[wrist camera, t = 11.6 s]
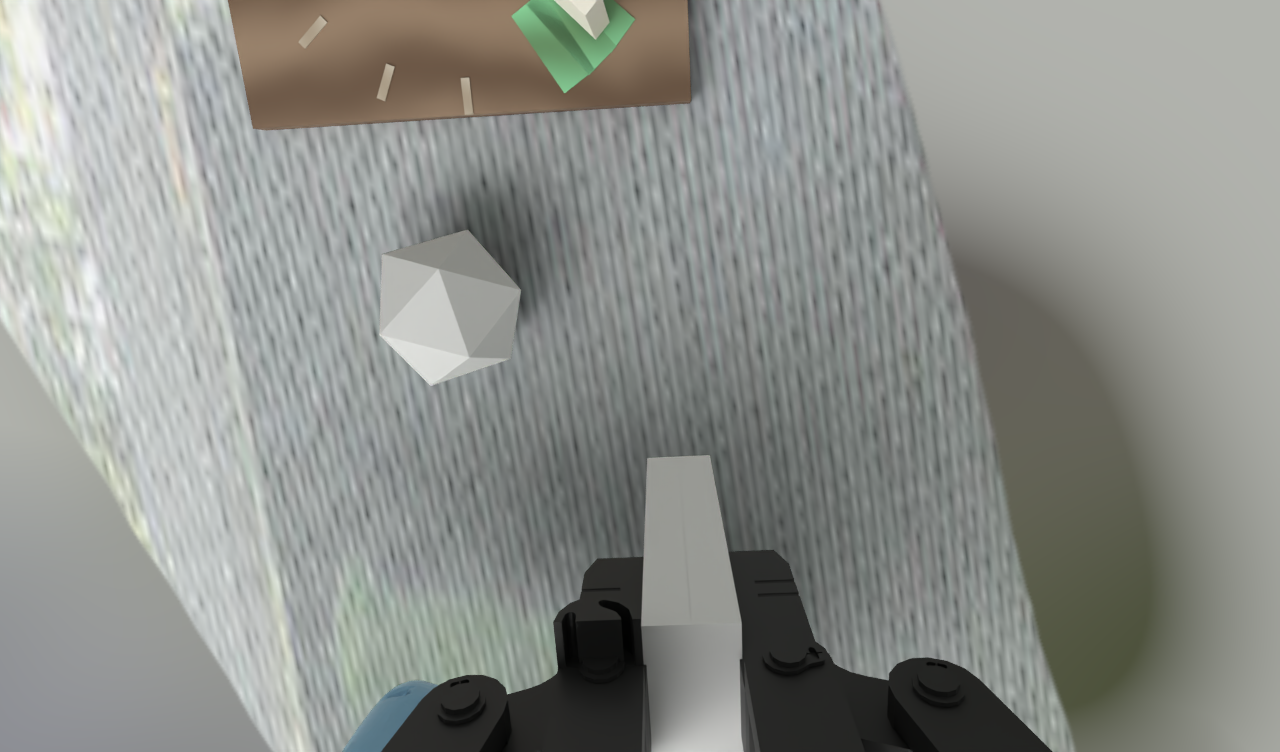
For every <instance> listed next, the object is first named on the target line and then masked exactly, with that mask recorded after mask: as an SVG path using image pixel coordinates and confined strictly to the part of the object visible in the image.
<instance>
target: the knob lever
mask: <svg viewBox="0 0 1280 752" xmlns="http://www.w3.org/2000/svg"><path fill="white" fill-rule="evenodd" d="M554 1H555V2H556V3H557V4H558V5H560V6H561V7H562V8H563V9H564V10H565V11H566V12H567V13H568V14H569V15H570V16H571V17H572V18H573V19H574V20H575V21H576V22H577V23H579V24H580V25H581V26H582V27H583V28H584V29H585V30H586V31H587V32H588V33H589V34H590V35H591V36H592V37H593V38H594V39H595V40H596V39H597V38H598V36H599V35H600V34H601V33H602V31H603V30H604V29H605V28H606V26H607V25H608V24H609V18H608V15H607V12H606V8H605V5H604V2H603V0H554Z"/></svg>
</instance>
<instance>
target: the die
mask: <svg viewBox="0 0 1280 752" xmlns="http://www.w3.org/2000/svg"><path fill="white" fill-rule="evenodd" d="M520 295H521V289H520V288H519V287H518V286H517V285H516V284H515V283H514V281H513V280H512V279H511V278H510V277H509V276H508V275H507V273H506V272H505V271H504V270H503V269H502V268H501V267H500V266H499V264H498V263H497V262H496V261H495V260H494V259H493V258H492V256H491V255H490V254H489V253H488V252H487V251H486V250H485V249H484V247H483V246H482V245H481V244H480V243H479V242H478V241H477V240H476V238H475V237H474V236H473V235H472V234H471V233H470V232H469V230H464V231H461V232H457V233H454V234H450V235H447V236H443V237H440V238H436V239H433V240H429V241H426V242H422V243H419V244H415V245H412V246H408V247H405V248H401V249H398V250H394V251H391V252H387V253H384V254H382V271H381V301H380V331H379V335H380V336H381V337H382V338H383V339H384V340H385V341H386V342H387V343H388V344H389V345H390V346H391V347H392V348H393V349H394V350H395V351H396V352H397V353H398V354H399V355H400V356H401V357H402V358H403V359H404V360H405V361H406V362H407V363H408V364H409V365H410V366H411V367H412V368H413V369H414V370H415V371H416V372H417V373H418V374H419V375H420V376H421V377H422V378H423V379H424V380H425V381H426V382H427V383H429V384H430V385H431V386H432V385H435V384H438V383H441V382H444V381H447V380H450V379H453V378H456V377H459V376H462V375H465V374H468V373H471V372H474V371H476V370H479V369H482V368H485V367H488V366H491V365H494V364H497V363H500V362H503V361H506V360H509V359H511V355H512V349H513V342H514V335H515V328H516V322H517V315H518V308H519V301H520Z"/></svg>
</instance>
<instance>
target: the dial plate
mask: <svg viewBox="0 0 1280 752" xmlns="http://www.w3.org/2000/svg"><path fill="white" fill-rule="evenodd" d="M603 2H604V5H605V8H606V12H607V15H608V18H609V24H608V25H607V26H606V28H605V29H604V30H603V31H602V33H601V34H600V35H599V36H598V38H597V39H596V40H595V39H594V38H593V37H592V36H591V35H590V34H589V33H588V32H587V31H586V30H585V29H584V28H583V27H582V26H581V25H580V24H579V23H577V22H576V21H575V20H574V19H573V18H572V17H571V16H570V15H569V14H568V13H567V12H566V11H565V10H564V9H563V8H562V7H561V6H560V5H558V4H557V3H556V2H555V1H554V0H228V3H229V8H230V13H231V18H232V23H233V28H234V33H235V39H236V44H237V49H238V54H239V59H240V64H241V69H242V74H243V79H244V85H245V90H246V95H247V100H248V105H249V110H250V115H251V120H252V126H253V129H261V130H279V129H295V128H310V127H326V126H342V125H357V124H373V123H389V122H404V121H420V120H435V119H451V118H467V117H482V116H498V115H514V114H529V113H545V112H561V111H576V110H592V109H608V108H623V107H639V106H655V105H670V104H686V103H690V102H691V85H690V56H689V28H688V0H603Z"/></svg>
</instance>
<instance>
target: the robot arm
mask: <svg viewBox="0 0 1280 752" xmlns="http://www.w3.org/2000/svg"><path fill="white" fill-rule="evenodd" d="M553 624H554V633H555V643H556V652H557V662H558V672H557V674H556V675H555V676H554V677H552V678H551V679H549V680H547V681H546V682H544V683H542V684H540V685H537V686H535V687H532V688H529V689H526V690H522V691H519V692H515V693H511V694H508V695H507V693H506V689H505V687H504V686H503V685H502V684H501V683H500V682H499V681H498V680H497V679H494V678H491V677H487V676H484V675H465V676H461V677H458V678H454V679H450V680H448V681H446V682H444V683H442V684H440V685H436V684H433V683H429V682H426V681H420V680H414V681H408V682H405V683H402V684H400V685H398V686H396V687H394V688H393V689H392V690H390V691H389V692H388V693H387V694H385V695H384V696H383V697H382V698H381V699H380V701H379V702H378V703H377V704H376V705H375V706H374V708H373V709H372V710H371V711H370V713H369V714H368V715H367V717H366V718H365V719H364V721H363V722H362V723H361V725H360V726H359V727H358V729H357V730H356V732H355V733H354V735H353V736H352V738H351V739H350V740H349V742H348V743H347V745H346V746H345V748H344V749H343V751H342V752H1052V751H1051V750H1050V749H1049V748H1048V747H1047V746H1046V745H1045V744H1044V743H1043V742H1042V741H1041V740H1040V739H1039V738H1038V737H1037V736H1036V735H1035V734H1034V733H1033V732H1032V731H1031V730H1030V729H1029V728H1028V727H1027V726H1026V725H1025V724H1024V723H1023V722H1022V721H1021V720H1020V719H1019V718H1018V717H1017V716H1016V715H1015V714H1014V713H1013V712H1012V711H1011V710H1010V709H1009V708H1008V707H1007V706H1006V705H1005V704H1004V703H1003V702H1002V701H1001V700H1000V699H999V698H998V697H997V696H996V695H995V694H994V693H993V692H992V691H991V690H990V689H989V688H988V687H986V686H985V685H984V684H983V683H982V682H981V681H980V680H979V679H978V678H977V677H975V676H974V675H973V674H971V673H970V672H969V671H967V670H966V669H965V668H962V667H960V666H957V665H955V664H953V663H950V662H948V661H944V660H939V659H933V658H912V659H908V660H906V661H903V662H901V663H898V664H897V665H896V666H895V667H894V668H893V669H892V671H891V672H890V673H889V681H888V680H883V679H878V678H873V677H867V676H863V675H859V674H856V673H852V672H849V671H847V670H845V669H843V668H840V667H838V666H837V665H835V664H834V663H833V661H832V658H831V657H830V655H829V654H828V652H827V651H826V649H825V648H824V647H822V646H821V645H819V644H818V643H816V642H815V639H814V637H813V634H812V631H811V628H810V625H809V622H808V619H807V616H806V613H805V610H804V607H803V604H802V601H801V599H800V596H799V594H798V590H797V587H796V584H795V582H794V578H793V575H792V572H791V569H790V566H789V563H787V562H786V561H785V560H784V559H783V558H782V557H781V556H780V555H778V554H777V553H776V552H775V551H774V550H761V551H735V552H728V548H727V543H726V538H725V533H724V527H723V522H722V517H721V512H720V506H719V501H718V496H717V491H716V485H715V480H714V475H713V470H712V464H711V459H710V455H700V456H678V457H655V458H647V478H646V506H645V534H644V557H629V558H603V559H597V560H596V561H595V562H594V563H593V564H592V565H591V567H590V568H589V569H588V570H587V571H586V572H585V574H584V580H583V585H582V592H581V596H580V600H577V601H575V602H572V603H570V604H568V605H567V606H566V607H565V608H563V609H562V610H561V611H559V613H558V614H557V616H556V618H555V620H554V622H553Z"/></svg>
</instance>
